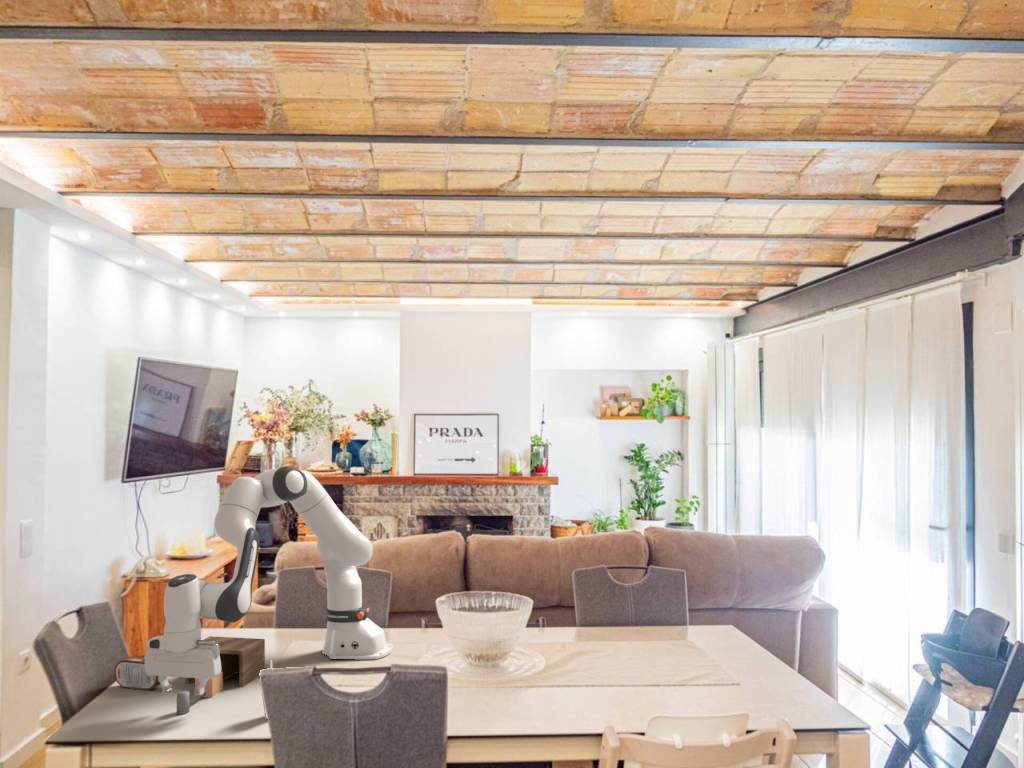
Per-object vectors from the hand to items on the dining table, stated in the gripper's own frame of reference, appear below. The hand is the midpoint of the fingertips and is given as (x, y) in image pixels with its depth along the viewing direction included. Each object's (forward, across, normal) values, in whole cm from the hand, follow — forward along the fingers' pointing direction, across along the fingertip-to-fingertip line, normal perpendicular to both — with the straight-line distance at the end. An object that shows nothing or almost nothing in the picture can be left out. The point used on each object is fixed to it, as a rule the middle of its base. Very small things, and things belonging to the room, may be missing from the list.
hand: (183, 693), depth 201 cm
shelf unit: (+5, +5, -27) cm, 28 cm away
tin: (+5, +25, -15) cm, 29 cm away
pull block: (+5, +1, -8) cm, 10 cm away
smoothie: (+6, -24, -2) cm, 25 cm away
